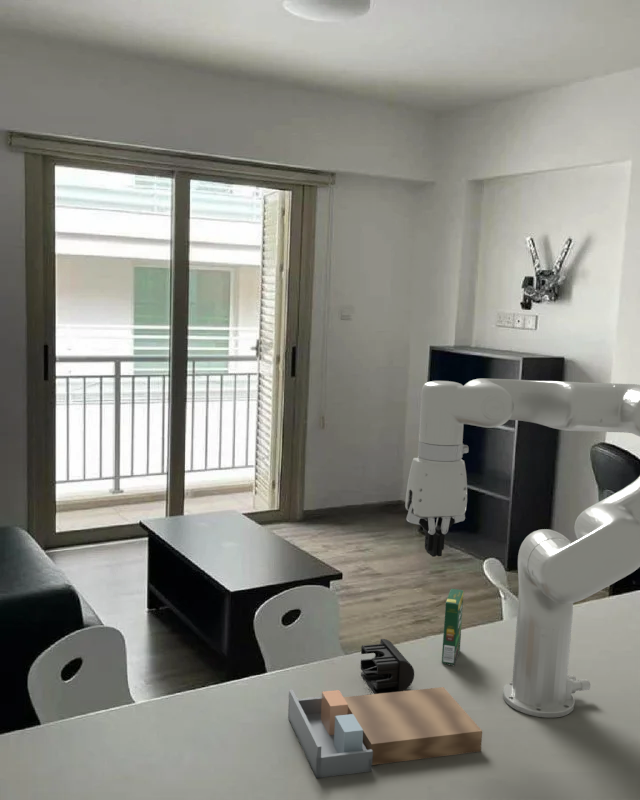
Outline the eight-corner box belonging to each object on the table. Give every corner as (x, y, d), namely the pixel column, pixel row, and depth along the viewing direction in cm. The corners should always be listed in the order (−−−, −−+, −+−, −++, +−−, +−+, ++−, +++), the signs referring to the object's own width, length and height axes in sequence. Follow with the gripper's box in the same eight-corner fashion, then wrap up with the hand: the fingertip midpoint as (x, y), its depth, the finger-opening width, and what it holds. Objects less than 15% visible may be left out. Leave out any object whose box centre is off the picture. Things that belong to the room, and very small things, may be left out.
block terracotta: (339, 690, 139) (322, 691, 138) (347, 704, 134) (330, 706, 133) (337, 717, 139) (320, 719, 139) (346, 733, 135) (329, 735, 134)
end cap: (413, 694, 150) (415, 659, 149) (377, 698, 148) (379, 663, 147) (393, 670, 159) (395, 637, 159) (359, 673, 157) (360, 640, 156)
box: (337, 712, 142) (338, 685, 142) (371, 771, 125) (373, 740, 124) (288, 717, 140) (289, 689, 139) (316, 778, 123) (317, 746, 122)
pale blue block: (353, 713, 131) (335, 715, 130) (363, 730, 126) (344, 732, 125) (351, 743, 132) (333, 745, 131) (361, 760, 127) (343, 762, 126)
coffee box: (455, 667, 162) (459, 603, 160) (440, 664, 162) (444, 601, 161) (460, 650, 169) (464, 589, 168) (446, 648, 170) (450, 587, 168)
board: (442, 705, 146) (443, 687, 146) (480, 751, 132) (482, 730, 131) (341, 716, 141) (342, 697, 140) (370, 765, 127) (371, 744, 126)
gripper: (469, 447, 148) (463, 545, 150) (391, 448, 144) (386, 549, 146) (488, 455, 141) (481, 558, 143) (407, 457, 137) (402, 563, 139)
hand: (433, 553), depth 145 cm, fingers closed
